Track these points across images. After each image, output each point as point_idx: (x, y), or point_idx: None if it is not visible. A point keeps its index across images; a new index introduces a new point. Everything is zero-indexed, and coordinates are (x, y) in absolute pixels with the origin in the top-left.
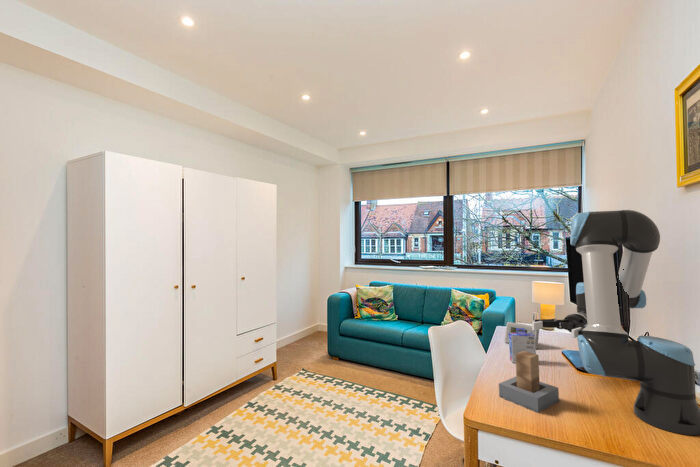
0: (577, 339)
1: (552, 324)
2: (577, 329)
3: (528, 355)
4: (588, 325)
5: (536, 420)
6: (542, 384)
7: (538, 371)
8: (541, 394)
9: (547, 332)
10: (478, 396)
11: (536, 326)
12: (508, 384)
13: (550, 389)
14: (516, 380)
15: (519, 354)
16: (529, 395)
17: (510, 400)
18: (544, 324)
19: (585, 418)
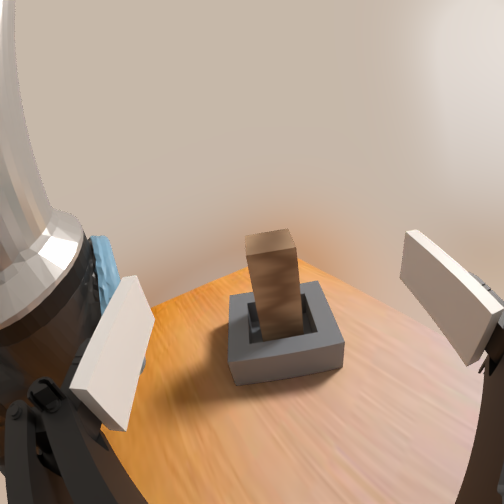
0: (120, 280)
1: (488, 446)
2: (104, 316)
3: (258, 239)
4: (53, 209)
5: (224, 303)
6: (264, 346)
7: (254, 298)
8: (233, 309)
9: None
10: (335, 281)
11: (419, 275)
12: (305, 290)
13: (234, 339)
14: (315, 314)
15: (277, 230)
16: (247, 293)
17: None
18: (495, 369)
19: (169, 365)
